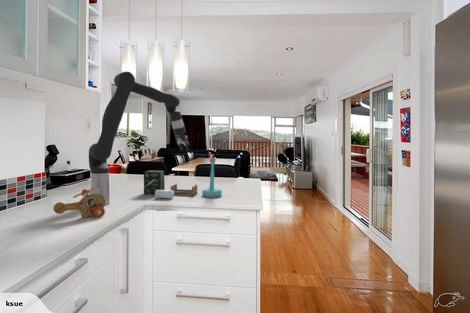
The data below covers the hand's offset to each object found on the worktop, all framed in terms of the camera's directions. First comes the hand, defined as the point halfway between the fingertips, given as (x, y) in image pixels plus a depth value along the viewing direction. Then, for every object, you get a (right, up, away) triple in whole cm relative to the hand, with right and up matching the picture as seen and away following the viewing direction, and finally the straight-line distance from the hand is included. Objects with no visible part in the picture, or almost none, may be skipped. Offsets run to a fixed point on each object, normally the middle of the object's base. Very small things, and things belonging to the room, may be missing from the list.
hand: (184, 150), depth 191 cm
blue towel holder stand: (+19, -30, -7) cm, 36 cm away
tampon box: (-20, -29, -1) cm, 35 cm away
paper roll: (-9, -27, -17) cm, 34 cm away
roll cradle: (0, -29, -4) cm, 29 cm away
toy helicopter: (-36, -32, -61) cm, 78 cm away
